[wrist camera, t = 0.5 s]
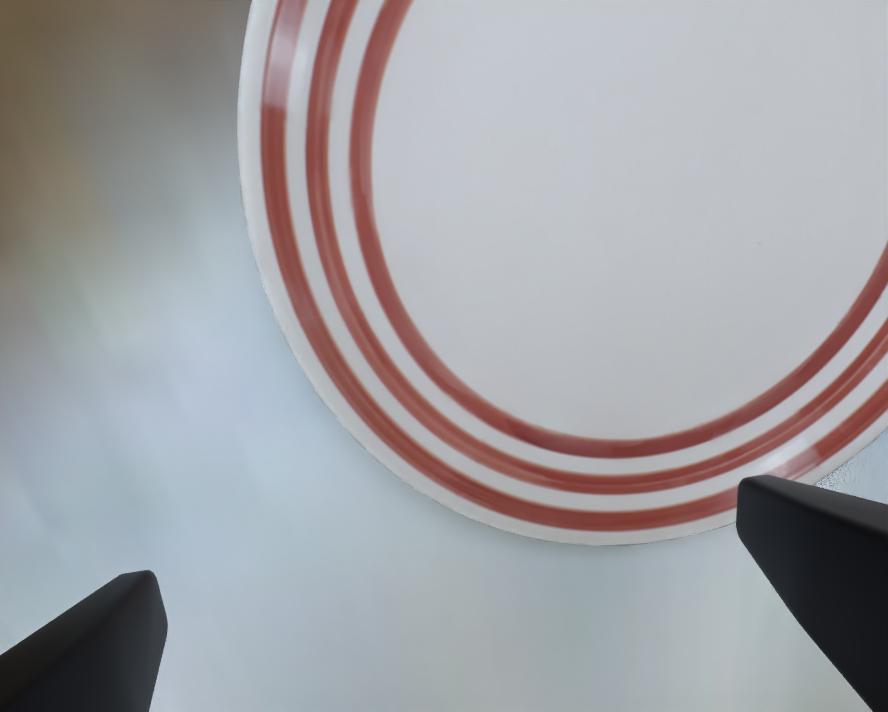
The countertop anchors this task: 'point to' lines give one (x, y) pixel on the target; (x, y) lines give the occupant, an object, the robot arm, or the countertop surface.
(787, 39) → the dinner plate
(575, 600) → the countertop surface
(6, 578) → the countertop surface
